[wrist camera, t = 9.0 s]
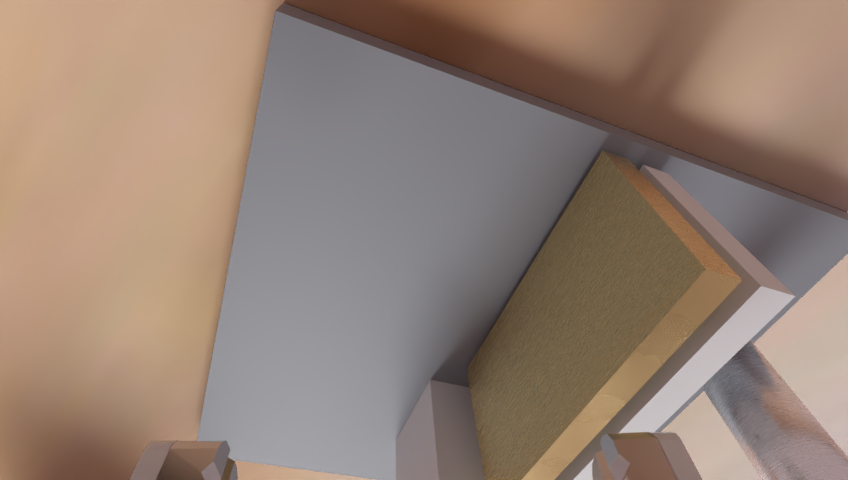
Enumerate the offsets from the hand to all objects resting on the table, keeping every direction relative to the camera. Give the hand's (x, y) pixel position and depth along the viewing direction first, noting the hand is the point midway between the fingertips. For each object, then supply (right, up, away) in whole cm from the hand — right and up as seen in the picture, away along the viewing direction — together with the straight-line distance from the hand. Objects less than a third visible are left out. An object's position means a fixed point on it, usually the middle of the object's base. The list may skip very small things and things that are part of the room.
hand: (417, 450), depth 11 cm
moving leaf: (+4, +3, +7) cm, 9 cm away
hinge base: (+3, 0, +11) cm, 11 cm away
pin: (+12, +1, +10) cm, 15 cm away
